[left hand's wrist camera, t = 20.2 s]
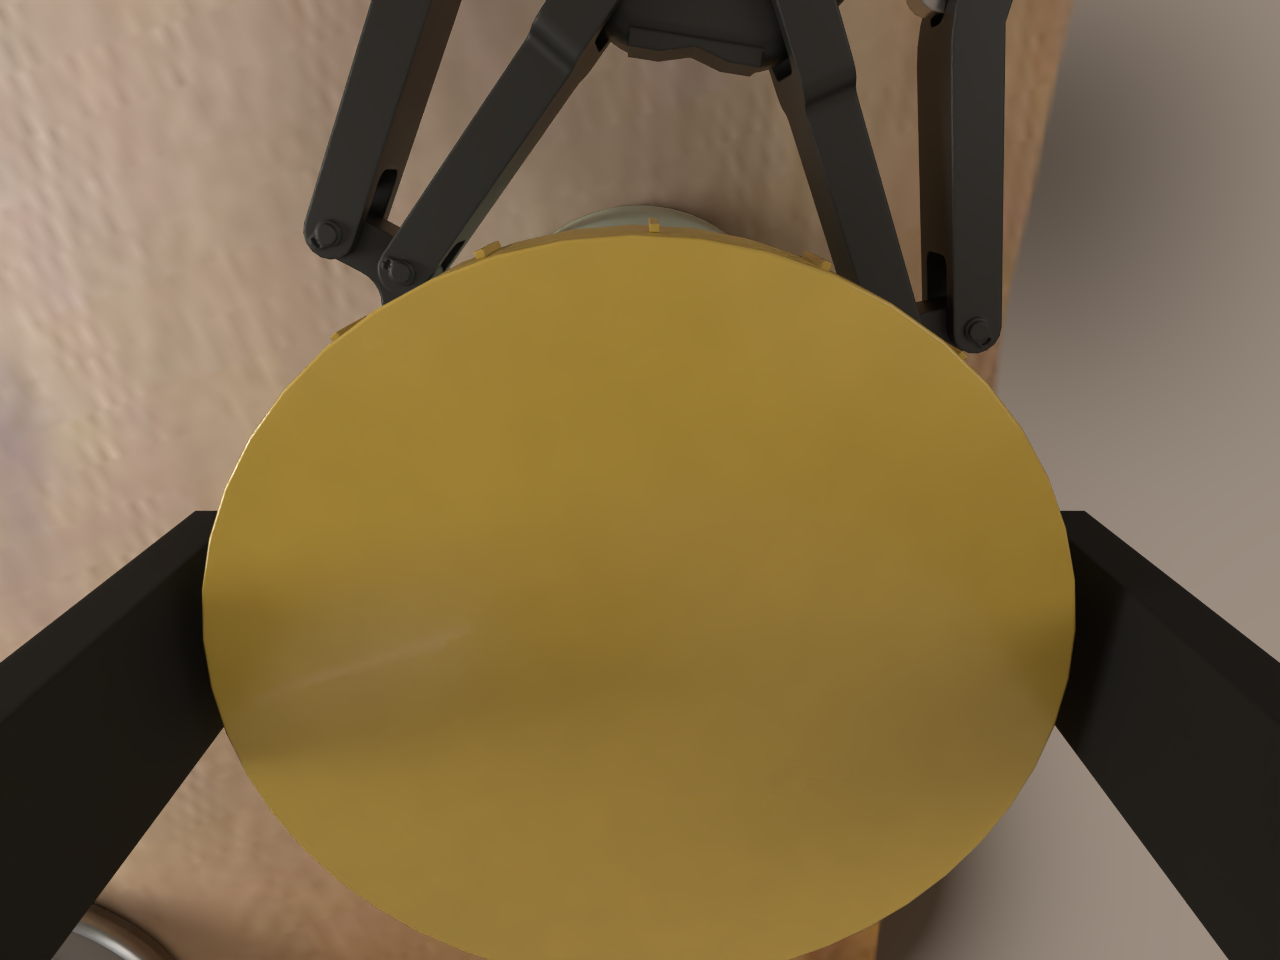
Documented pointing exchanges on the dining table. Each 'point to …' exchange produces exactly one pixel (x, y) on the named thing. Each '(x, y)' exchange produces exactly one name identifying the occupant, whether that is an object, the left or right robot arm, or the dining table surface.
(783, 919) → the lid
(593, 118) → the dining table surface
